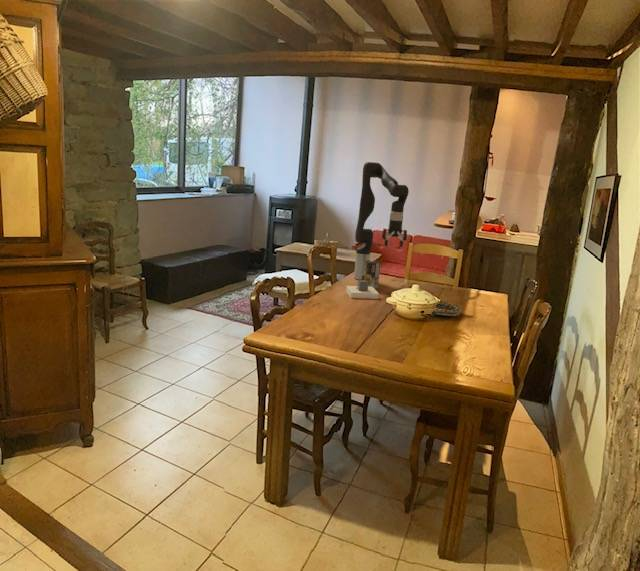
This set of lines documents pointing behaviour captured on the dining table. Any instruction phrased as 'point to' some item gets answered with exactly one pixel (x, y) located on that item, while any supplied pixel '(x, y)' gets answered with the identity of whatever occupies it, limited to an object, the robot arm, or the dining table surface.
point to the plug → (362, 285)
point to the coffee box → (371, 273)
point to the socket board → (362, 292)
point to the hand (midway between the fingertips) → (393, 246)
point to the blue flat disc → (446, 310)
